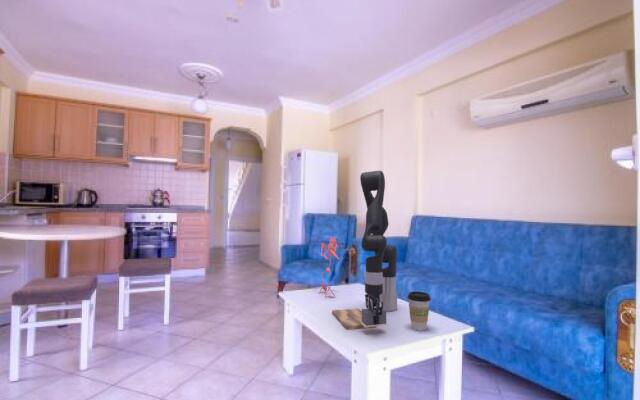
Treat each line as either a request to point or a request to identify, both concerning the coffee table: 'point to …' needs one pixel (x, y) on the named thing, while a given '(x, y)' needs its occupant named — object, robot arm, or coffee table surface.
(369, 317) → the sanding block
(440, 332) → the coffee table surface
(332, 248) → the figurine
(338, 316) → the oak board
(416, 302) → the coffee cup
